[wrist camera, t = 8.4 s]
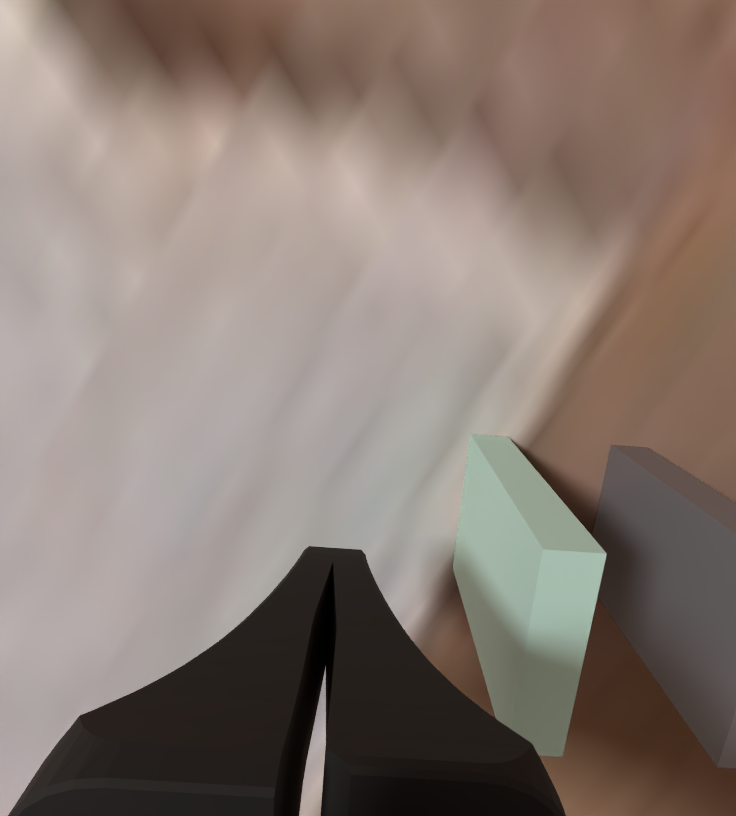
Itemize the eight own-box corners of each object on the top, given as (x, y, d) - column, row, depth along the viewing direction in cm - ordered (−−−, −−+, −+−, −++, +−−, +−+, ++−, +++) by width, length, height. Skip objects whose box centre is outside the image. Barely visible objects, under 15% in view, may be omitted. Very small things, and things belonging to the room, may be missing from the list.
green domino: (452, 567, 18) (505, 753, 11) (470, 433, 16) (543, 549, 10) (487, 570, 18) (562, 757, 11) (508, 436, 16) (606, 553, 10)
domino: (648, 448, 16) (843, 571, 10) (617, 579, 18) (772, 770, 11) (611, 444, 16) (782, 567, 10) (583, 577, 18) (717, 767, 11)
